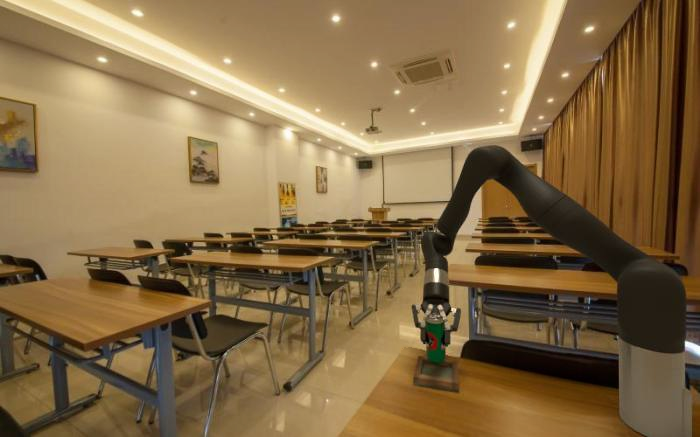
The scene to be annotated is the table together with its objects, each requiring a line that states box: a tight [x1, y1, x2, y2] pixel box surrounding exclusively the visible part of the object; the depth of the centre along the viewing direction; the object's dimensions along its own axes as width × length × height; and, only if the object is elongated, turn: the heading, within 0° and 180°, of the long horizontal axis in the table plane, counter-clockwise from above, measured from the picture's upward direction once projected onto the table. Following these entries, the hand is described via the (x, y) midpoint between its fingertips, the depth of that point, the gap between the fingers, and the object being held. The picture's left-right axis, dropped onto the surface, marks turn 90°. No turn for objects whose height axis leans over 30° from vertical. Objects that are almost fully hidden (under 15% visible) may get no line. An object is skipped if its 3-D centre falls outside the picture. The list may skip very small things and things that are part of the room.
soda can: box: [425, 314, 447, 364], centre depth 78 cm, size 5×5×12 cm
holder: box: [413, 355, 460, 394], centre depth 78 cm, size 11×11×2 cm
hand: (435, 344), depth 76 cm, fingers closed on soda can, 5 cm apart
